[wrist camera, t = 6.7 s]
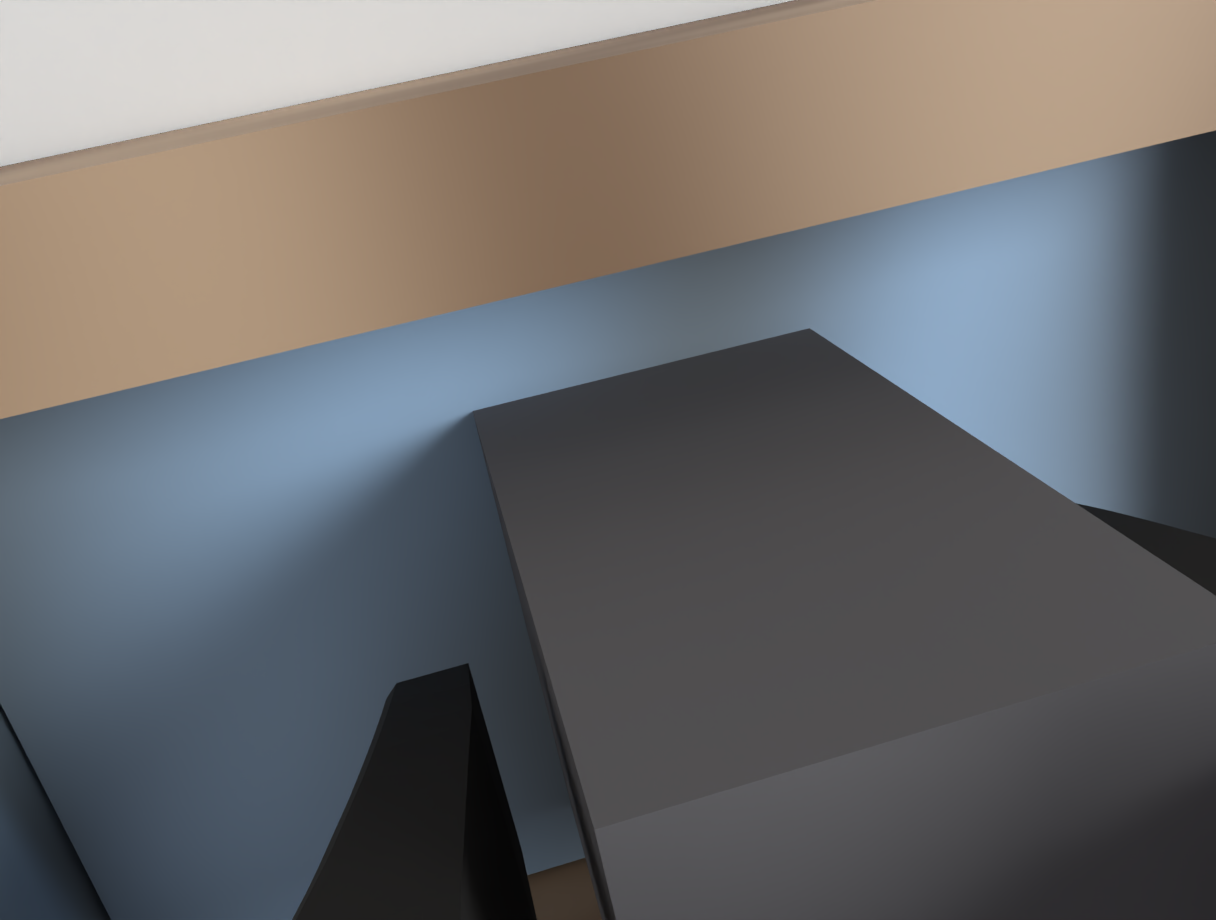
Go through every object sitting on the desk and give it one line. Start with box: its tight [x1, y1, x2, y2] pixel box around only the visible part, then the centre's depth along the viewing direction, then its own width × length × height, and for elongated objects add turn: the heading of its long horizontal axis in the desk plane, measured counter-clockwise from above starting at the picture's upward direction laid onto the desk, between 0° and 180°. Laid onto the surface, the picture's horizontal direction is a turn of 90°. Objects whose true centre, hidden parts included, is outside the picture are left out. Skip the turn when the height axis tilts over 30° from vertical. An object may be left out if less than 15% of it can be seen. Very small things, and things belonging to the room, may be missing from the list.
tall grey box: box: [473, 328, 1216, 920], centre depth 9 cm, size 4×5×6 cm
